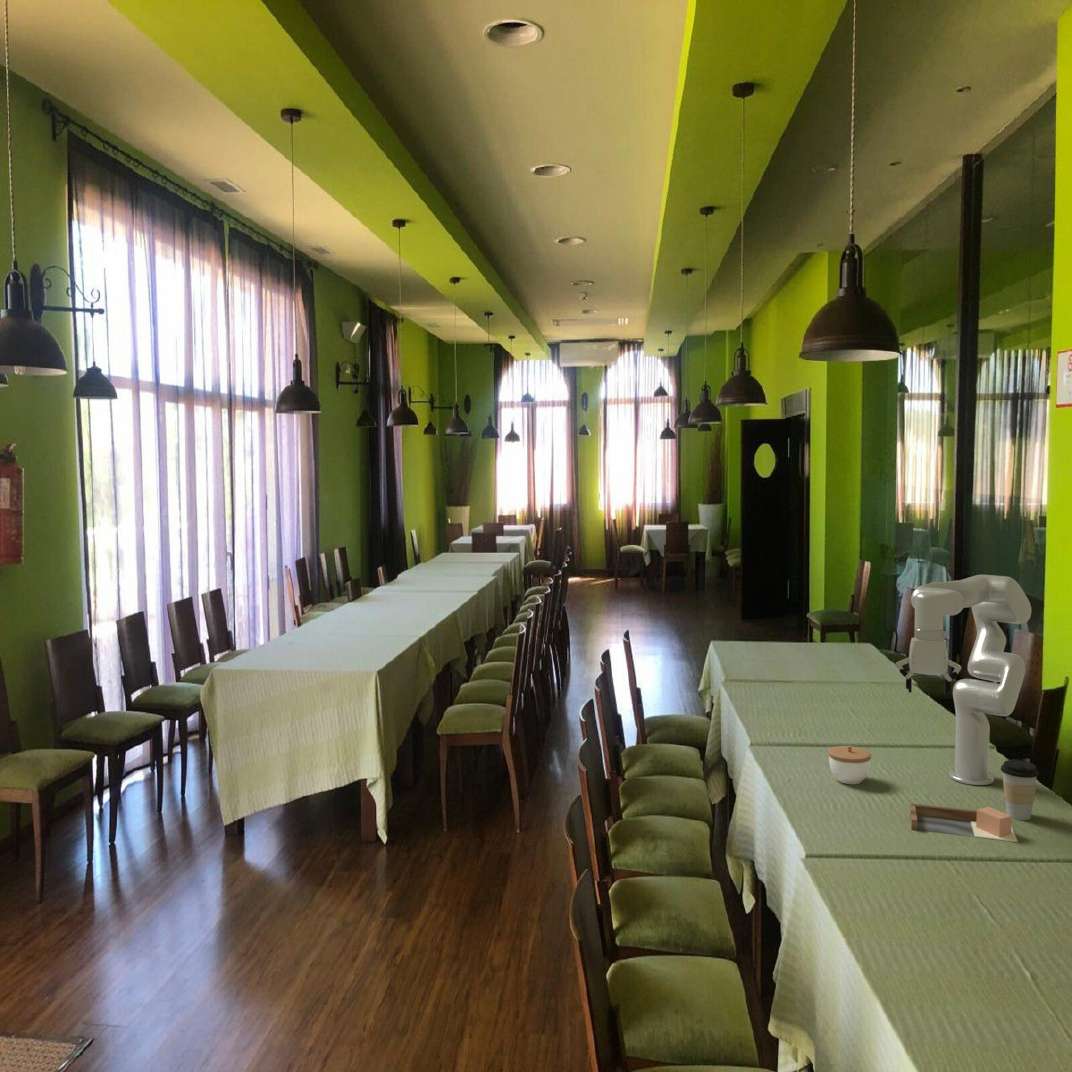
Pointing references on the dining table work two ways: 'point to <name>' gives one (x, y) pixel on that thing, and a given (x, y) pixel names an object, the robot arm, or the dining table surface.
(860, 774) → the lidded bowl
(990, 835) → the pad
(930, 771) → the dining table surface
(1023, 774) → the coffee cup
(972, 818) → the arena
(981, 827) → the block
